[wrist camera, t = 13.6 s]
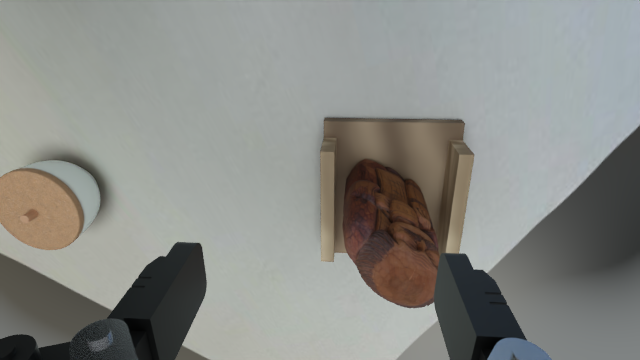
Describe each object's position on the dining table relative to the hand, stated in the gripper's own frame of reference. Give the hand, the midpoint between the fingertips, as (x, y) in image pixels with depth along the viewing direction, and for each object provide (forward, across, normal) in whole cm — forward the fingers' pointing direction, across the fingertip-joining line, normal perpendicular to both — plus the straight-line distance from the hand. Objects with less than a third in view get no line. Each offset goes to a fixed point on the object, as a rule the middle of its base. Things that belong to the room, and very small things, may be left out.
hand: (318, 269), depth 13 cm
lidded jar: (+36, +35, +15) cm, 53 cm away
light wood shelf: (+35, -7, +13) cm, 38 cm away
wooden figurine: (+34, -7, +13) cm, 37 cm away
